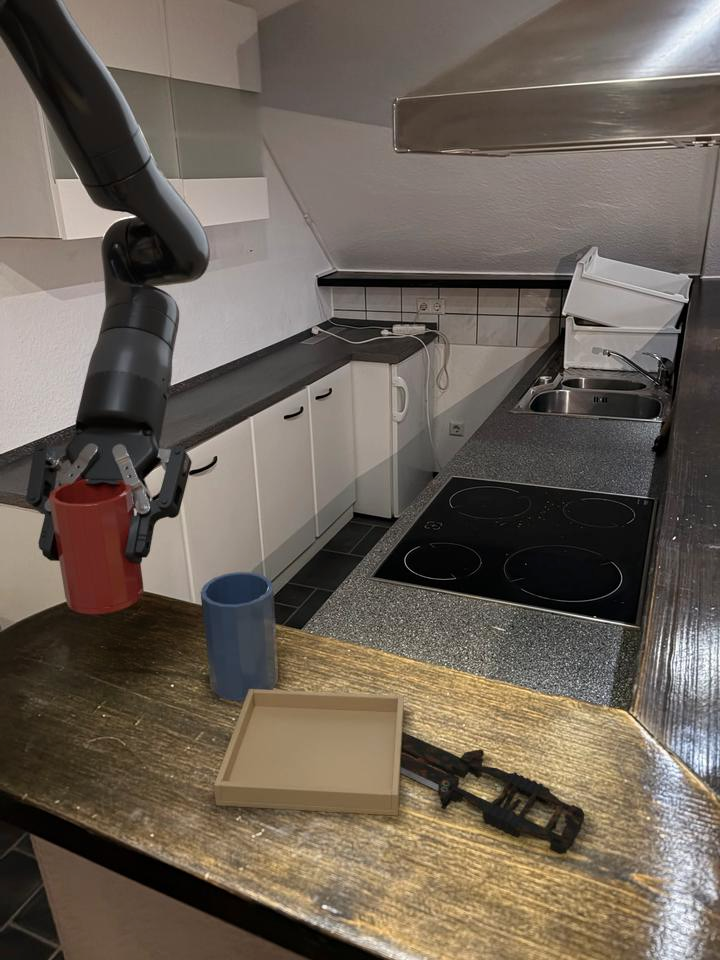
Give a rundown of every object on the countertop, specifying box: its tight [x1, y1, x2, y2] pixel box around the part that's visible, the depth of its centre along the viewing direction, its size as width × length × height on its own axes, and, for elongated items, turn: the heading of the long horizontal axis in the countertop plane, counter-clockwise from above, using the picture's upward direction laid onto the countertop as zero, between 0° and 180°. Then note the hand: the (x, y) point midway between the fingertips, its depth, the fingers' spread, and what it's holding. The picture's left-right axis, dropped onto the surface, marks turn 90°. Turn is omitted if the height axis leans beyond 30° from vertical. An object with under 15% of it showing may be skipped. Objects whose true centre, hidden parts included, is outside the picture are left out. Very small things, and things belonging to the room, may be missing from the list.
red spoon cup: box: [49, 479, 144, 615], centre depth 66 cm, size 6×6×10 cm
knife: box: [400, 731, 585, 855], centre depth 62 cm, size 25×6×1 cm, turn 49°
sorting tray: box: [213, 689, 405, 817], centre depth 63 cm, size 14×12×2 cm
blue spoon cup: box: [200, 571, 279, 702], centre depth 72 cm, size 6×6×10 cm
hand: (92, 559), depth 64 cm, fingers closed on red spoon cup, 6 cm apart
